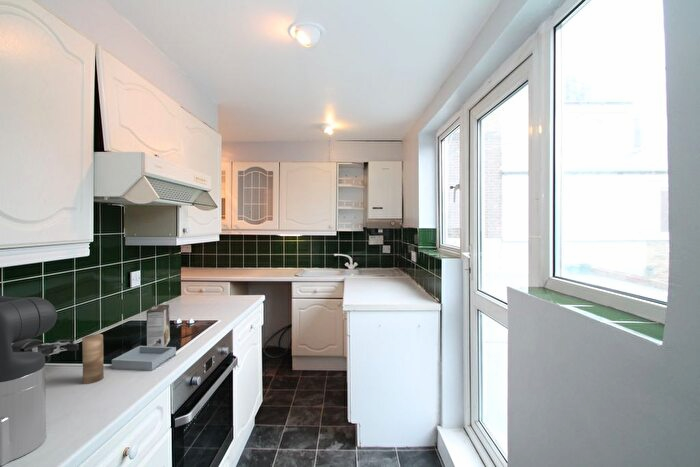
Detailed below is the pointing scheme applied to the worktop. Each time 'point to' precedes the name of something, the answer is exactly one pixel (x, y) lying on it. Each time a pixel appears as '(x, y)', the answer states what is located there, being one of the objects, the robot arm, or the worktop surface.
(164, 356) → the tray
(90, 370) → the walnut dowel
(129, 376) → the worktop surface
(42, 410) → the robot arm
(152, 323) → the coffee box
